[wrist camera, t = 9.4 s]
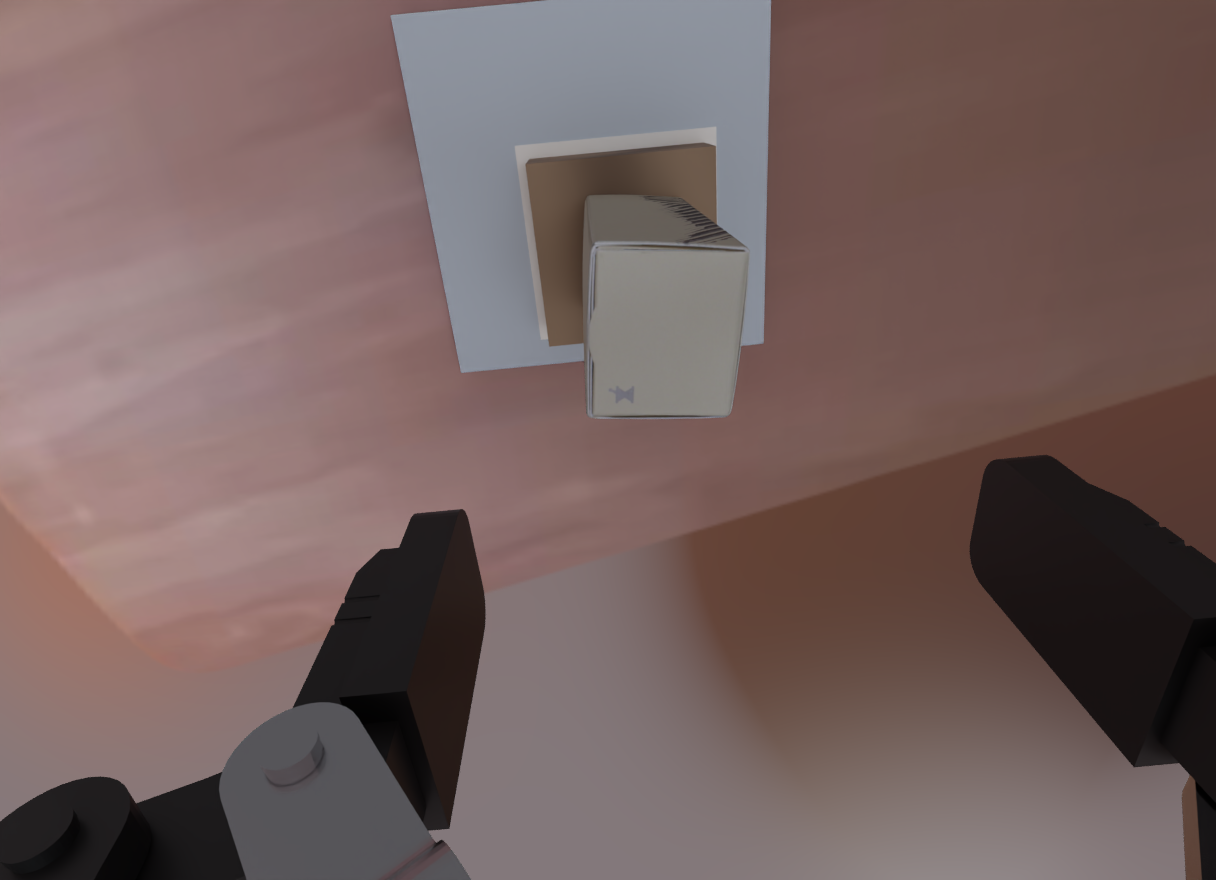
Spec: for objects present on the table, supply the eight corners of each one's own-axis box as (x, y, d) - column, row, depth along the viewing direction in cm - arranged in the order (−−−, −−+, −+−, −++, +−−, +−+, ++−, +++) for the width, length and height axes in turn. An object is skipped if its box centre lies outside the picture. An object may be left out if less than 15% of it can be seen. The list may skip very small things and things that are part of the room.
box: (674, 309, 31) (734, 431, 19) (579, 308, 31) (584, 430, 19) (684, 188, 29) (759, 245, 17) (581, 185, 28) (587, 241, 17)
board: (765, -18, 29) (772, -22, 28) (758, 337, 36) (763, 344, 35) (396, 17, 29) (389, 15, 28) (463, 366, 36) (460, 373, 35)
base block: (703, 142, 31) (715, 145, 28) (706, 312, 34) (718, 330, 31) (529, 158, 30) (525, 164, 28) (550, 327, 34) (549, 346, 31)
